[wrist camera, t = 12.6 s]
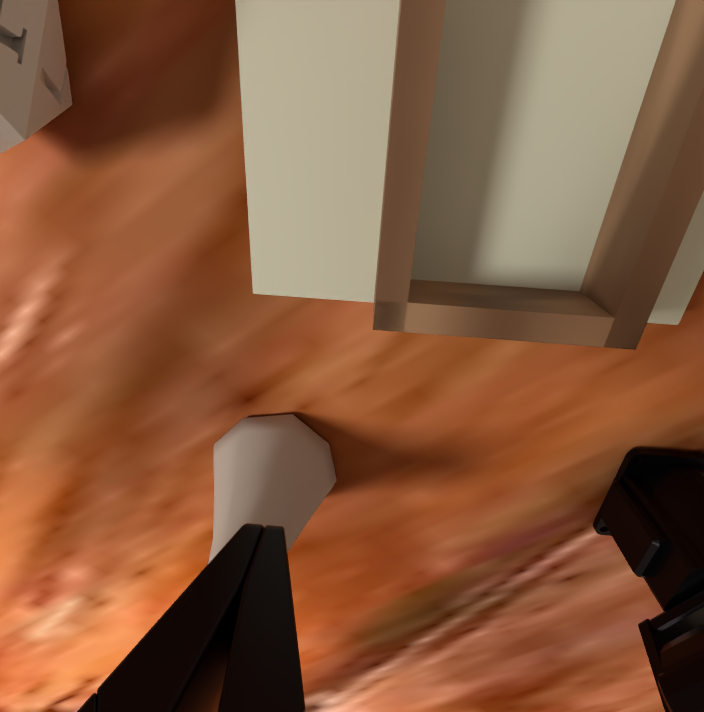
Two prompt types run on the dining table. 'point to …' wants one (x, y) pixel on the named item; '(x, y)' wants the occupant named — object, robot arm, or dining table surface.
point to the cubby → (619, 227)
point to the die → (30, 69)
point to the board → (446, 142)
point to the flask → (269, 477)
